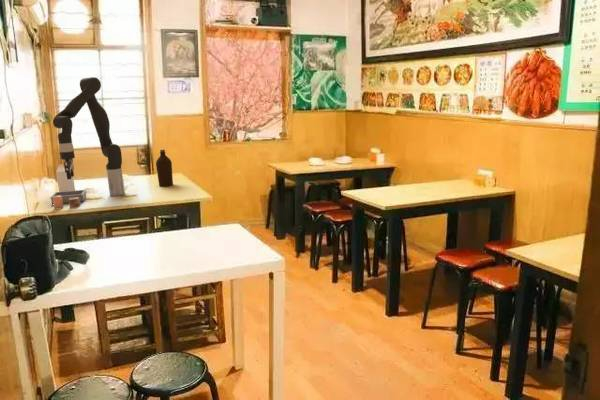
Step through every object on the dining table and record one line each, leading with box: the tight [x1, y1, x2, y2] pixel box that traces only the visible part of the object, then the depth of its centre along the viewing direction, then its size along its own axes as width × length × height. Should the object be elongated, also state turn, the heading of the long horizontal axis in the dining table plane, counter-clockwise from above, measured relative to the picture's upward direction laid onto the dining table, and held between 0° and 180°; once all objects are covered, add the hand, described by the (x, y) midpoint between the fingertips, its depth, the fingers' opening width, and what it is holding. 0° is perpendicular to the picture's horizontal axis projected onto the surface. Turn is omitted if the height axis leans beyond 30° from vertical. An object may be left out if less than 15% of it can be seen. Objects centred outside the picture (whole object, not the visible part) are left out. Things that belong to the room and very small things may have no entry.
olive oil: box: [155, 149, 174, 188], centre depth 341 cm, size 11×11×25 cm
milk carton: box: [55, 164, 76, 192], centre depth 332 cm, size 7×7×19 cm
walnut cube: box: [69, 197, 81, 209], centre depth 294 cm, size 5×5×5 cm
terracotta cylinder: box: [53, 195, 64, 209], centre depth 292 cm, size 5×5×7 cm
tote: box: [50, 189, 87, 205], centre depth 308 cm, size 18×14×5 cm
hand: (70, 177), depth 291 cm, fingers open, 8 cm apart
